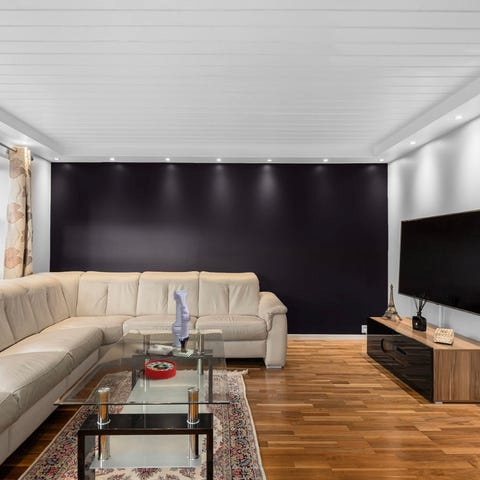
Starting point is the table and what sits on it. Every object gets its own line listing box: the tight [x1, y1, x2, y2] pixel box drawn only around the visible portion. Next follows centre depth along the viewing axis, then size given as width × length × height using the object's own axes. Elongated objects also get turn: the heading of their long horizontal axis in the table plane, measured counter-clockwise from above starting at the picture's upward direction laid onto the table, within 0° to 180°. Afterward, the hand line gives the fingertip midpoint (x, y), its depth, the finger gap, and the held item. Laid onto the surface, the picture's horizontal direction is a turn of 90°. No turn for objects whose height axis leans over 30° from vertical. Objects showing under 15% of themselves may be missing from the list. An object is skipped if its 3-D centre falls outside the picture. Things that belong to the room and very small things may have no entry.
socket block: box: [147, 344, 174, 356], centre depth 314 cm, size 14×14×2 cm
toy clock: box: [144, 359, 177, 381], centre depth 270 cm, size 20×6×20 cm
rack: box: [172, 347, 195, 358], centre depth 310 cm, size 12×12×2 cm
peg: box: [180, 341, 188, 353], centre depth 310 cm, size 4×4×8 cm
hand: (183, 347), depth 310 cm, fingers closed on peg, 4 cm apart
